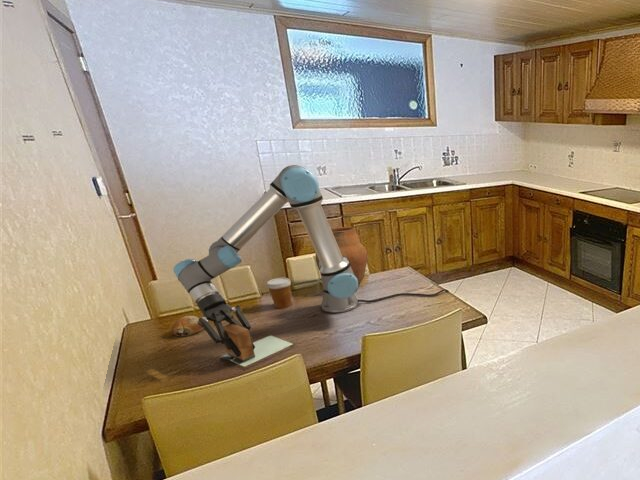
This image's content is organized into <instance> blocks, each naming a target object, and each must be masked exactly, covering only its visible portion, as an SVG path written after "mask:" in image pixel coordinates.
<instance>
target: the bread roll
mask: <svg viewBox="0 0 640 480" xmlns="http://www.w3.org/2000/svg"><path fill="white" fill-rule="evenodd" d="M199 319H200V318H199V317H198V316H195V315H185V316H182V317H180V318H179V319H177V320H176V321H175V323H174V324H173V325H172V334H173V335H174V336H176V337H177V336H178V337H188V336H193V335H196V334H198V333H199V332H201V331H203V330H205V329H204V328H203V327H202V326H201V325H199V324H198V320H199Z"/></svg>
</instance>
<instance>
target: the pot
mask: <svg viewBox="0 0 640 480" xmlns="http://www.w3.org/2000/svg"><path fill="white" fill-rule="evenodd" d="M330 228H331V230H332V232H333V235H334V237H335V240H336V242H337V245H338V247H339V249H340V252H341V254H342V257H345V258H347V260H348V261H349V264H350V266H351V268H352V271H353V273H354V275H355V276H356V278H357V280H358V285H360V283H362V282H363V280H364V278H365V274H366V270H367V269H366V268H367V266H368V265H367V264H368V250H367V249H366V247H365V246H364V245H363V244H362V242H361V241H362V240H363V236H362V235H361V234H358V233H357V229H356V227H353V226H339V227H330ZM314 258H315V263H316V266H317V268H318V272H320V268H319V262H320V261H319V258H318V256H317V254H316V253H315V257H314Z"/></svg>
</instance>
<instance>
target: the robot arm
mask: <svg viewBox="0 0 640 480" xmlns="http://www.w3.org/2000/svg"><path fill="white" fill-rule="evenodd" d="M323 197H324V196H323V195H322V192H321V190H320V184H319V181H318V179H317V177H316V175H315V174H314V173H312V172H311V171H310V170H308V169H307V168H306V167H304V166H301V165H298V164H291V165H287V166H285V167H284V168H282V170H281V171H280V172H279V173H278V175H277V176H276V177H275V178H274V179H273V180H272V181H271V182H270V183H269V189H267V191H266V192H265V193H264V194H263V195H262V196H261V197H259V199H257V201H256V202H254V204H253V205H252V206H251V207H250V208H248V210H246V211H245V212H244V213H243V214H242V216H241V217H239V218H238V220H237V221H236V222H234V223H233V224H232V225H231V227H230V228H229V229H227V230H226V231H225V232H224V233H223V234H222V236H220V238H218V239H217V240H216V241H214V242H212V244H211V245H210V246H209V249H208V255H207V256H205V257H204V258H202V259H199V260H198V261H197V260H196V259H193V258H188V259H185V260H181V261H179V262H178V263H176V264H174V266H173V273H174V276H176V279H177V281H178V282H180V284H181V285H182V287H183V288H184V289H185V290H186V292H187V294H188V295H189V296H190V297H191V300H192V301H193V302H194V304H196V307H197V308H198V309H199V311H200V312H201V313H202V314H203V316H202V317H200V318H199V320H198V324H199V325H201V326H202V327H203V328H204V329H203V330H205V332H206V333H207V334H208V336H209V337H210V338H211V340H212V341H213V342H214V343H215V344H219V343H221V344H222V345H224V347H225V346H226V347H227V349H229V350H230V349H232V351H233V352H234V353H235V355H236V356H237V357H239V356H240V355H241V352H240V350H239V349H238V348H237V346H236V345H235V343H234V342H233V341H232V339H231V338H229V339H227V335H226V333H225V330H224V328H223V326H224V325H223V322H224V321H226V322H227V323H228V324H235V325H238V326H240V327H243V328H245V329H248V331H250V330H251V328H252V325H251V324H250V323H249V321H248V319H247V318H246V316H245V315H244V313H243V311H242V310H241V306H240V305H236V306H231V305H229V304H227V302H226V300H225V299H224V297H223V296H222V294H220V292H219V291H218V289H217V288H216V286H215V285H214V283H213V282H212V281H211V280H213V279H216V278H217V277H219V276H221V275H222V274H224V273H226V272H228V271H230V270H231V269H233V268H235V267H236V266H238V265H239V264H241V263H242V261H243V260H242V257H241V256H240V254H239V251H240V250H241V249H242V248H243V247H244V246H245V245H246V244H247V243H249V241H251V239H252V238H253V237H254V236H255V235H256V234H257V233H259V231H260V230H261V229H262V228H263V227H264V226H265V225H266V224H267V223H268V222H269V221H270V220H272V218H273V217H274V216H275V215H276V214H277V213H278V212H279V211H281V209H282V208H283V207H285V205H286V204H287V203H288V204H289V206H290V208H291V209H293V210H295V211H297V213H298V215H299V217H300V220H301V222H302V224H303V226H304V229H305V231H306V234H307V236H308V238H309V241H310V244H311V245H312V247H313V249H314V252H315V254H317V256H318V258H319V261H320V262H319V268H320V271H319V273H320V277H321V285H322V289H323V290H322V292H323V295H322V301H321V310H322V311H323V312H324V313H327V314H341V313H347V312H350V311H353V310H354V309H356V308H357V307H358V306H359V303H374V302H379V301H382V300H385V299H390V298H394V297H398V296H421V297H435V296H437V295H439V294H441V293H443V292H447V293H449V292H450V290H448V289H445V288H444V289H441V290H439V291H437V292H436V293H435V292H434V293H430V294H427V293H416V292H415V293H413V292H402V293H401V292H400V293H395V294H391V295H387V296H382V297H379V298H375V299H370V300H369V299H368V300H367V299H358V297H357V295H356V293H357V291H358V289H359V284H358V280H357V278H356V276H355V275H354V273H353V271H352V268H351V266H350V264H349V261H348V260H347V258H345V257H342V254H341V252H340V249H339V247H338V245H337V242H336V240H335V237H334V235H333V232H332V230H331V228H332V227H331V225H330V223H329V220H328V217H327V216H326V214H325V210H324V209H323V206H322V202H323V200H324V198H323ZM444 290H445V291H444ZM231 313H233V314H234V315H235V317H236V318H237V319H236V318H235V317H234V315H233V314H231ZM209 321H210V322H212V323H213V325H214V327H215V328H216V330H215V329H214V327H213V326H212V325H211V324H210V323H209ZM216 331H217V332H216ZM249 335H250V339H251V341H253V337H252V336H251V334H250V333H249ZM253 343H254V342H252V346H253V350H254V348H255V346H254V344H253ZM226 347H225V348H226Z"/></svg>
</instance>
